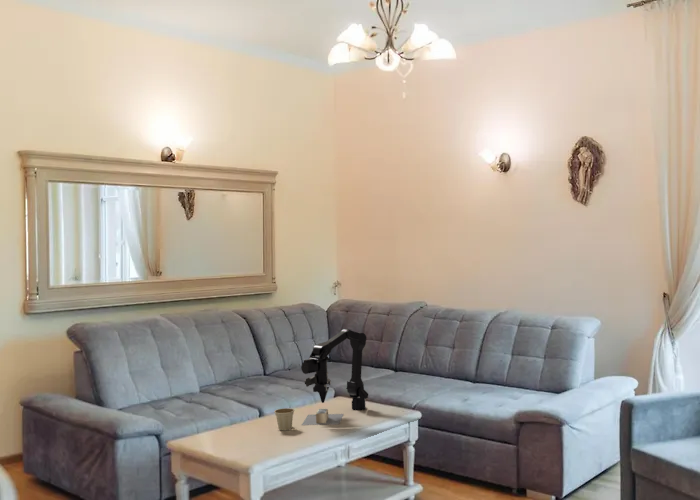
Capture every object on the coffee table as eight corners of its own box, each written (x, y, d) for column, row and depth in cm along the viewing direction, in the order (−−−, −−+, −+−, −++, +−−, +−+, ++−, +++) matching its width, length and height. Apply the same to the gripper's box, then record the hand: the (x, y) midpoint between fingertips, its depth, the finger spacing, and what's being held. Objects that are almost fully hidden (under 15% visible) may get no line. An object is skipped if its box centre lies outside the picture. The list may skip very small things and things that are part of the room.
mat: (343, 415, 348) (343, 413, 348) (339, 425, 328) (339, 424, 328) (308, 415, 349) (308, 414, 349) (301, 426, 329) (301, 425, 329)
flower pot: (294, 431, 321) (293, 412, 321) (273, 432, 322) (273, 413, 322) (296, 426, 331) (295, 407, 331) (276, 426, 331) (275, 408, 331)
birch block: (328, 408, 341) (325, 413, 331) (328, 417, 341) (325, 423, 331) (318, 408, 341) (315, 413, 331) (319, 418, 341) (316, 423, 332)
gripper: (308, 367, 351) (309, 398, 351) (302, 374, 333) (303, 407, 333) (330, 367, 350) (331, 398, 350) (325, 374, 331) (326, 407, 331)
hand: (322, 402), depth 341 cm, fingers closed
